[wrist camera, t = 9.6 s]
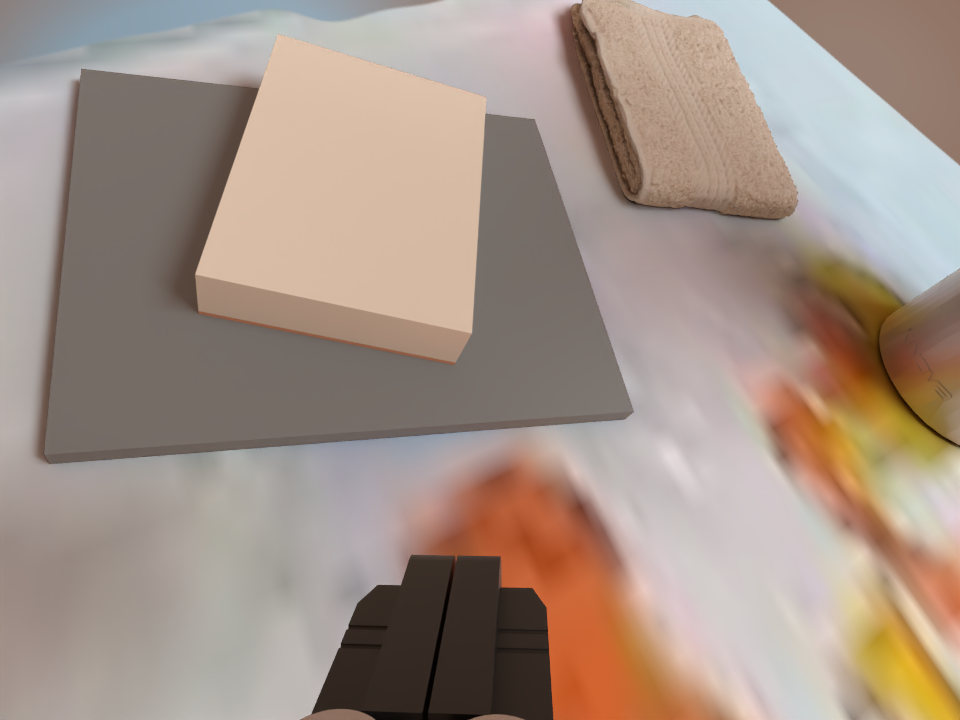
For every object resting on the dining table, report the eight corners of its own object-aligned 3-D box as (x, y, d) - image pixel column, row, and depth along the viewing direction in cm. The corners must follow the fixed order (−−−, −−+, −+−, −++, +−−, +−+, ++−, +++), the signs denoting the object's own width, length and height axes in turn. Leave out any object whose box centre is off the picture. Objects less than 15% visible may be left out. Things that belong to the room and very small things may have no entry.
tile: (454, 365, 27) (471, 136, 34) (472, 333, 25) (486, 97, 32) (198, 313, 25) (275, 79, 32) (195, 274, 23) (277, 33, 30)
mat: (529, 130, 37) (534, 119, 37) (625, 419, 29) (633, 411, 29) (84, 84, 29) (81, 68, 29) (49, 463, 21) (43, 454, 21)
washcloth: (697, 44, 49) (721, 6, 47) (787, 231, 41) (823, 197, 38) (554, 15, 45) (573, -29, 43) (622, 216, 37) (651, 177, 34)
